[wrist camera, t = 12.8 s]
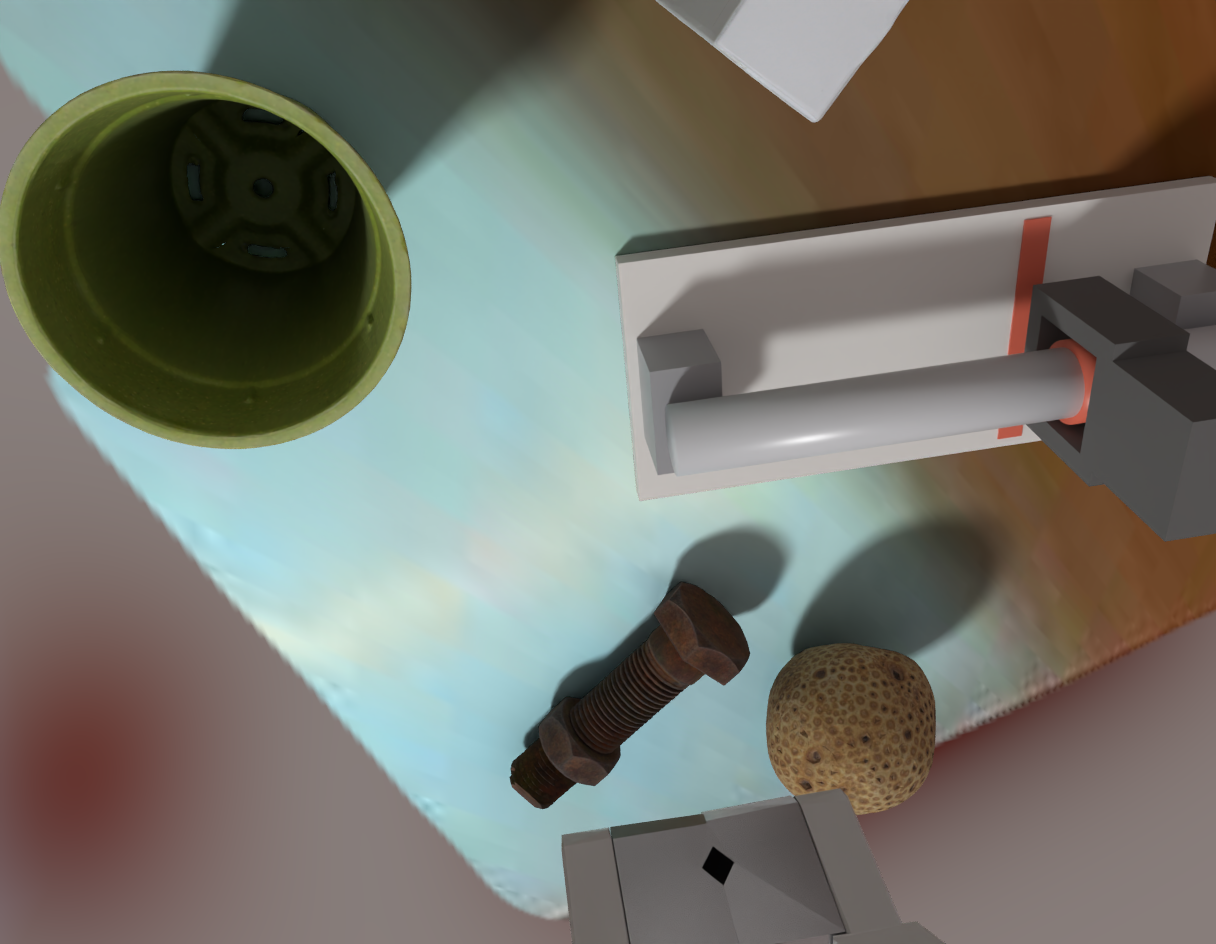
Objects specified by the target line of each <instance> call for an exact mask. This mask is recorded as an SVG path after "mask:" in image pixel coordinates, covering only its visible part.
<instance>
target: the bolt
mask: <svg viewBox="0 0 1216 944" xmlns="http://www.w3.org/2000/svg"><path fill="white" fill-rule="evenodd" d="M654 615H655V616H656V618H657V620H658V621H659V623H660V624H661V625H660V626H659V627H658V628H657V629H655V630H654V631H653V632H652V633H651V634H650V636H649V639H648V640H647V641H646V642H644V643H643V644H642V645H641V646H640V647H638V649H636V650H635V651H634V653H632V654H631V655H630V656H629V657H627V658H626V659H625V661H623V662H622V663H621V664H620V665H619V666H618V667H617V668H616V669H614V670H613V671H612V672H611V673H610V674H609V675H608V676H607V677H605V679H604V680H602V681H601V682H600V683H599V684H598V685H597V686H596V687H595V688H593V689H592V691H590V692H589V693H588V694H587V695H585V696H584V698H583V699H578V698H572V697H565V698H564V699H563V700H562V701H561V702H560V703H559V704H558V705H557V706H556V707H554V708H553V709H552V710H551V711H550V712H549V714H548V715H547V716H546V717H545V718H544V720H543V721H542V722H541V724H540V725H539V737H540V738H538V739H537V740H536V742H534V743H533V744H532V745H531V746H529V748H528V749H526V750H525V751H524V753H522V754H521V755H520V756H518V757H517V759H515V760H514V761H513V762H512V765H511V774H512V775H511V776H510V782H511V785H512V787H513V788H514V789H515V790H516V791H517V792H518V793H519V794H520V795H521V796H522V797H524V798H525V799H526V800H527V801H528V802H529V803H531V804H532V805H533V806H534V807H536V808H540V809H545V808H548V807H549V806H550V805H552V804H553V802H555V801H556V800H557V799H558V798H559V797H561V796H562V795H563V794H564V793H565V792H566V791H568V790H569V789H570V788H571V787H572V786H574V785H575V784H576V783H581V784H585V785H591V786H595V785H597V784H598V783H599V782H600V781H601V780H602V779H604V778H605V777H606V776H607V775H608V774H609V773H610V772H611V770H612V769H613V768H614V766H615V765H616V763H617V762H618V760H619V758H620V755H621V754H620V745H621V744H622V743H623V742H625V741H626V740H627V739H628V738H629V737H630V736H631V735H632V734H634V733H635V731H637V730H638V729H639V728H640V727H642V726H643V725H644V724H645V723H647V721H648V720H650V719H651V718H652V717H653V716H654V715H655V714H656V713H657V712H659V711H660V710H661V709H662V708H663V707H664V706H665V705H667V704H668V703H669V702H670V701H671V700H673V699H674V698H675V697H676V696H678V694H679V693H680V692H682V691H683V690H684V689H686V688H687V687H688V686H689V685H692V684H694V683H695V682H696V681H698V680H699V679H700V678H701V677H702V676H703V675H705V674H706V675H708V676H709V677H711V678H712V679H714V680H716V681H717V682H719V683H721V684H722V685H726V684H727V683H728V682H729V681H730V680H731V679H732V678H734V677H735V676H736V675H737V674H738V673H739V672H740V671H741V670H742V668H743V667H744V666H745V664H746V662H747V661H748V659H749V656H750V651H749V647H748V643H747V641H746V638H745V636H744V633H743V631H742V629H741V627H740V625H739V624H738V623H737V621H736V620H735V619H734V618H733V617H732V615H731V614H730V613H729V612H728V611H727V610H726V609H725V608H724V606H723V605H722V604H721V603H720V602H719V601H717V600H716V599H715V598H714V597H712V596H711V595H709V594H708V593H707V592H705V591H704V590H703V589H701V588H699V587H698V586H695V585H693V584H689V583H684V582H680V583H679V584H678V585H677V586H676V587H675V588H674V589H672V590H671V591H670V592H669V593H668V594H667V595H666V596H665V597H664V599H663V600H662V602H661V603H660V605H659V606H658V608H657V609H656V611H655V612H654Z"/></svg>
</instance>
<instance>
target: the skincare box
mask: <svg viewBox="0 0 1216 944" xmlns="http://www.w3.org/2000/svg"><path fill="white" fill-rule="evenodd" d="M656 1H657V2H658V3H659V4H661V5H662V6H663V7H664V8H666V9H667V10H668V11H669V12H671V13H672V14H673V15H674V16H676V17H677V18H678V19H679V20H681V21H682V22H683V23H684V24H686V25H687V26H688V27H690V28H691V29H692V30H694V31H695V32H696V33H697V34H699V35H700V36H701V37H703V38H704V39H705V40H706V41H708V42H709V43H710V44H711V45H713V46H714V47H715V48H716V49H718V50H719V51H720V52H721V53H722V54H724V55H725V56H726V57H727V58H729V59H730V60H731V61H732V62H734V63H735V64H736V65H737V66H739V67H740V68H741V69H743V70H744V71H745V72H746V73H748V74H749V75H750V76H752V77H753V78H754V79H755V80H757V81H758V82H759V83H760V84H762V85H763V86H764V87H766V88H767V89H768V90H770V91H771V92H772V93H774V94H775V95H776V96H778V97H779V98H780V99H781V100H783V101H784V102H785V103H787V104H788V105H789V106H791V107H792V108H793V109H795V110H796V111H797V112H799V113H800V114H802V115H803V116H804V117H806V118H807V119H808V120H810V121H811V122H818V121H819V120H820V119H821V118H822V117H823V116H824V114H825V113H826V112H827V110H828V109H829V108H830V106H831V105H832V103H833V102H834V101H835V99H836V98H837V97H838V95H839V94H840V93H841V91H842V90H843V88H844V87H845V86H846V84H847V83H848V82H849V80H850V79H851V78H852V76H853V75H854V74H855V72H856V71H857V69H858V68H859V67H860V65H861V64H862V63H863V62H864V61H865V59H866V58H867V57H868V56H869V55H870V54H871V53H872V51H873V50H874V49H875V48H876V47H877V46H878V44H879V43H880V42H881V41H882V39H883V38H884V37H885V35H886V34H887V33H888V31H889V30H890V29H891V27H892V25H893V24H894V22H895V20H896V18H897V17H898V15H899V14H900V12H901V11H902V9H903V8H904V6H905V5H906V4H907V2H908V1H909V0H656Z"/></svg>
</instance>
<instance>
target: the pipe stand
mask: <svg viewBox="0 0 1216 944" xmlns="http://www.w3.org/2000/svg"><path fill="white" fill-rule="evenodd" d="M1215 222H1216V178H1214V177H1212V176H1205V177H1197V178H1190V179H1182V180H1175V181H1168V182H1160V183H1153V184H1145V185H1138V186H1130V187H1123V188H1116V189H1108V190H1101V191H1093V192H1086V193H1079V194H1071V195H1064V196H1056V197H1049V198H1042V199H1034V200H1027V201H1019V202H1012V203H1004V204H997V205H990V206H982V207H975V208H967V209H960V210H953V211H945V212H938V213H930V214H923V215H915V216H908V217H901V218H893V219H886V220H878V221H871V222H864V223H856V224H849V225H841V226H834V227H826V228H819V229H812V230H804V231H797V232H789V233H782V234H775V235H767V236H760V237H752V238H745V239H737V240H730V241H723V242H715V243H708V244H700V245H693V246H686V247H678V248H671V249H663V250H656V251H648V252H641V253H634V254H626V255H619V256H615V263H616V274H617V285H618V296H619V307H620V317H621V328H622V339H623V350H624V361H625V372H626V383H627V394H628V405H629V416H630V427H631V438H632V449H633V460H634V471H635V482H636V491H637V494H638V498H639V501H643V500H650V499H657V498H663V497H670V496H676V495H683V494H690V493H696V492H703V491H709V490H716V489H723V488H729V487H736V486H742V485H749V484H756V483H762V482H769V481H775V480H782V479H789V478H795V477H802V476H809V475H815V474H822V473H828V472H835V471H842V470H848V469H855V468H861V467H868V466H875V465H881V464H888V463H894V462H901V461H908V460H914V459H921V458H927V457H934V456H941V455H947V454H954V453H961V452H967V451H974V450H980V449H987V448H994V447H1000V446H1007V445H1013V444H1020V443H1027V442H1033V441H1040V440H1041V439H1040V438H1039V437H1038V436H1037V435H1036V434H1035V433H1034V432H1033V431H1032V430H1031V429H1030V428H1029V427H1028V426H1027V425H1026V424H1032V423H1039V422H1045V421H1052V420H1060V421H1061V422H1063V423H1065V424H1068V425H1073V424H1080V423H1086V417H1087V411H1088V405H1089V400H1090V394H1091V388H1092V382H1093V377H1094V371H1095V365H1096V360H1097V357H1095V356H1094V355H1093V354H1091V353H1090V352H1089V351H1088V350H1086V349H1085V348H1084V347H1082V346H1081V345H1080V344H1078V343H1077V342H1076V341H1074V340H1073V339H1065V340H1059V341H1056V342H1055V343H1054V344H1053V345H1052V346H1051V347H1050V348H1049V349H1046V350H1039V351H1032V352H1025V353H1024V350H1025V343H1026V335H1027V328H1028V320H1029V313H1030V305H1031V298H1032V290H1033V285H1037V284H1044V283H1051V282H1058V281H1065V280H1072V279H1079V278H1086V277H1094V276H1101V277H1102V278H1104V279H1105V280H1107V281H1109V282H1110V283H1112V284H1113V285H1115V286H1116V287H1118V288H1119V289H1121V290H1123V291H1124V292H1126V293H1127V294H1129V295H1130V296H1132V297H1134V298H1135V299H1137V300H1138V301H1140V302H1141V303H1143V304H1144V305H1146V306H1148V307H1149V308H1151V309H1152V310H1154V311H1155V312H1157V313H1159V314H1160V315H1162V316H1163V317H1165V318H1166V319H1168V320H1169V321H1171V322H1173V323H1174V324H1176V325H1177V326H1179V327H1180V328H1182V329H1184V330H1185V331H1187V332H1188V333H1190V337H1189V341H1188V346H1187V351H1188V352H1190V353H1191V354H1193V355H1194V356H1196V357H1197V358H1199V359H1200V360H1202V361H1203V362H1205V363H1206V364H1208V365H1209V366H1211V367H1212V368H1214V369H1215V370H1216V269H1214V268H1212V267H1210V266H1208V265H1206V262H1207V258H1208V253H1209V249H1210V244H1211V240H1212V235H1213V231H1214V226H1215Z"/></svg>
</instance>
